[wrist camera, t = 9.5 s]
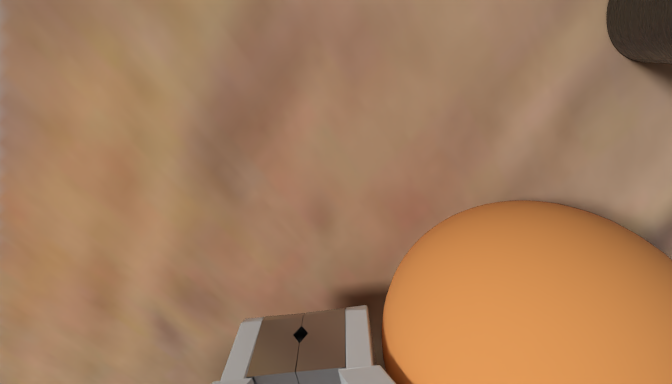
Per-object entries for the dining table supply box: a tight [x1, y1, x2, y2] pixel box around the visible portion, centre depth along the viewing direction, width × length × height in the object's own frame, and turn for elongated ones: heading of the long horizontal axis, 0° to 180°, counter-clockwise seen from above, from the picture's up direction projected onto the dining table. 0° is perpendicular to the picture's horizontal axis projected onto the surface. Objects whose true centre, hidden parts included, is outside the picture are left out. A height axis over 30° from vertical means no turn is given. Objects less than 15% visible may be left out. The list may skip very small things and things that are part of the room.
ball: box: [382, 201, 672, 384], centre depth 7 cm, size 6×6×6 cm
